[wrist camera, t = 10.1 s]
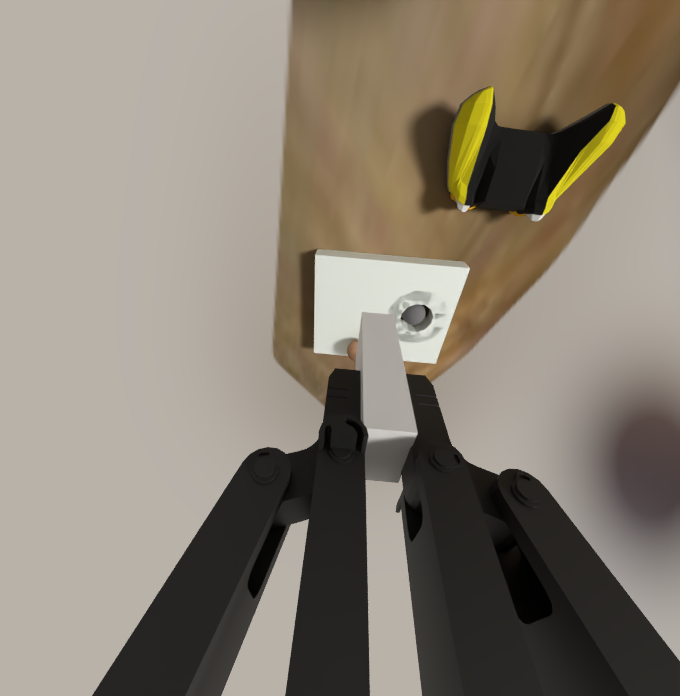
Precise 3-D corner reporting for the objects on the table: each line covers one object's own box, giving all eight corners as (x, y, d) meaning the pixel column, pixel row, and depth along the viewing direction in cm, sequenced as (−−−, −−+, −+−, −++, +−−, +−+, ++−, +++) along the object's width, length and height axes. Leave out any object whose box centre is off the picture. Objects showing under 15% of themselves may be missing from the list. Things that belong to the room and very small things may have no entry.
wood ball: (348, 334, 42) (347, 347, 39) (370, 336, 42) (370, 349, 39) (346, 351, 44) (345, 365, 41) (367, 353, 44) (367, 367, 41)
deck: (317, 248, 37) (315, 254, 35) (464, 261, 37) (470, 268, 35) (315, 343, 47) (313, 352, 45) (432, 354, 46) (435, 363, 44)
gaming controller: (454, 90, 27) (425, 202, 33) (473, 79, 23) (435, 210, 29) (601, 111, 27) (545, 218, 33) (647, 104, 23) (574, 228, 29)
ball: (402, 297, 41) (407, 304, 38) (424, 300, 41) (431, 306, 38) (397, 319, 42) (402, 327, 39) (419, 321, 42) (425, 329, 39)
